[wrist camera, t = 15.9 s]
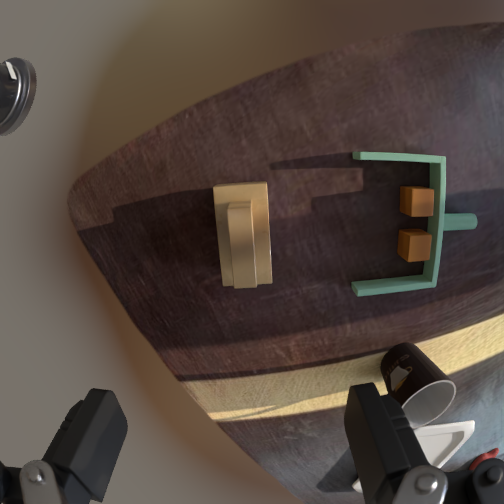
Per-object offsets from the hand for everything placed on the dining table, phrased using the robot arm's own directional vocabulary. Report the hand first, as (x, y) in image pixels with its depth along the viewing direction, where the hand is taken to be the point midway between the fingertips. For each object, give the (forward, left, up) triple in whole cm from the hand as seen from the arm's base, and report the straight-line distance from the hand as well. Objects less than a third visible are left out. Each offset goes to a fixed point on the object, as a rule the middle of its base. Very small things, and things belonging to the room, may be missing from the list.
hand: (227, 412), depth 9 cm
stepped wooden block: (0, 0, -25) cm, 25 cm away
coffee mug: (+24, -16, -25) cm, 38 cm away
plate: (+44, -42, -25) cm, 66 cm away
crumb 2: (+19, +2, -25) cm, 32 cm away
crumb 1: (+18, +7, -25) cm, 32 cm away
